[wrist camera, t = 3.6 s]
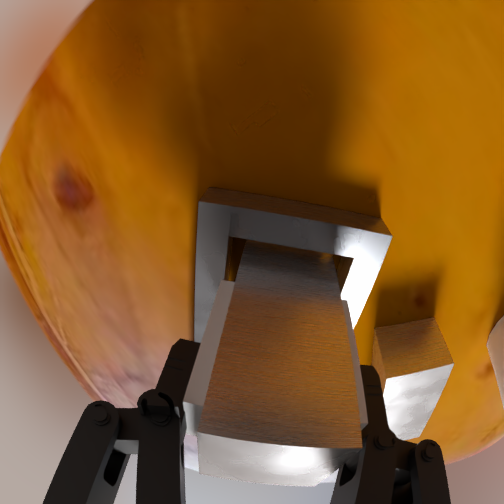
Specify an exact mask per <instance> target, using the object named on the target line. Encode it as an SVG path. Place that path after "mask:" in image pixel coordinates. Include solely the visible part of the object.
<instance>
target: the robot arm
mask: <svg viewBox="0 0 504 504" xmlns="http://www.w3.org/2000/svg"><path fill="white" fill-rule="evenodd" d="M234 284H235V282H232V281H226V280H221V282H220V285H219V288H218V291H217V294H216V297H215V300H214V303H213V307H212V310H211V313H210V316H209V319H208V322H207V325H206V328H205V332H204V335H203V338H202V341H201V343H199V342H194V341H189V340H185V339H179V340H178V341H177V342H176V343H175V344H174V345H173V346H172V347H171V350H170V352H169V355H168V359H167V360H166V363H165V366H164V368H163V370H162V373H161V376H160V378H159V381H158V383H157V386H156V389H151V390H148V391H146V392H144V393H143V394H142V395H141V396H140V397H139V399H138V402H137V405H138V408H115V407H114V405H112V404H111V403H109V402H106V401H94V402H93V403H91V404H89V405H88V406H87V408H86V409H85V410H84V412H83V414H82V416H81V418H80V420H79V422H78V424H77V426H76V429H75V430H74V433H73V435H72V437H71V439H70V441H69V444H68V445H67V448H66V450H65V452H64V454H63V457H62V459H61V461H60V463H59V466H58V468H57V470H56V472H55V475H54V477H53V480H52V482H51V484H50V487H49V489H48V492H47V494H46V496H45V499H44V501H43V504H113V503H114V500H115V497H116V494H117V491H118V489H119V486H120V483H121V480H122V477H123V474H124V472H125V469H126V466H127V463H128V460H129V458H130V455H131V454H138V463H137V483H136V504H186V501H185V476H184V475H185V474H184V442H183V441H184V437H185V433H186V434H189V435H193V436H197V430H198V426H199V422H200V418H201V414H202V410H203V406H204V402H205V398H206V394H207V390H208V386H209V382H210V378H211V374H212V370H213V366H214V362H215V358H216V354H217V350H218V346H219V342H220V339H221V335H222V331H223V327H224V323H225V319H226V315H227V311H228V307H229V304H230V300H231V296H232V292H233V288H234ZM342 304H343V309H344V315H345V320H346V326H347V331H348V337H349V343H350V349H351V356H352V362H353V369H354V376H355V383H356V391H357V399H358V407H359V416H360V425H361V435H362V447H363V448H362V449H361V450H360V451H359V452H357V453H356V454H355V455H354V456H353V457H352V458H350V459H349V460H348V461H347V462H346V463H344V464H343V465H342V466H341V467H339V471H338V475H337V479H336V483H335V487H334V491H333V495H332V498H331V503H330V504H451V502H450V495H449V488H448V482H447V476H446V470H445V465H444V460H443V455H442V451H441V448H440V446H439V445H438V444H437V443H436V442H435V441H433V440H429V439H425V440H423V441H421V442H419V443H418V444H415V443H411V442H408V441H404V440H401V439H399V438H397V437H396V435H395V433H394V432H393V431H391V430H390V428H389V425H388V420H387V414H386V408H385V402H384V397H383V392H382V388H381V381H380V376H379V374H378V373H377V371H376V369H375V368H374V366H368V365H360V363H359V358H358V352H357V346H356V341H355V335H354V330H353V325H352V320H351V315H350V310H349V305H348V301H347V300H342Z"/></svg>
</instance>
